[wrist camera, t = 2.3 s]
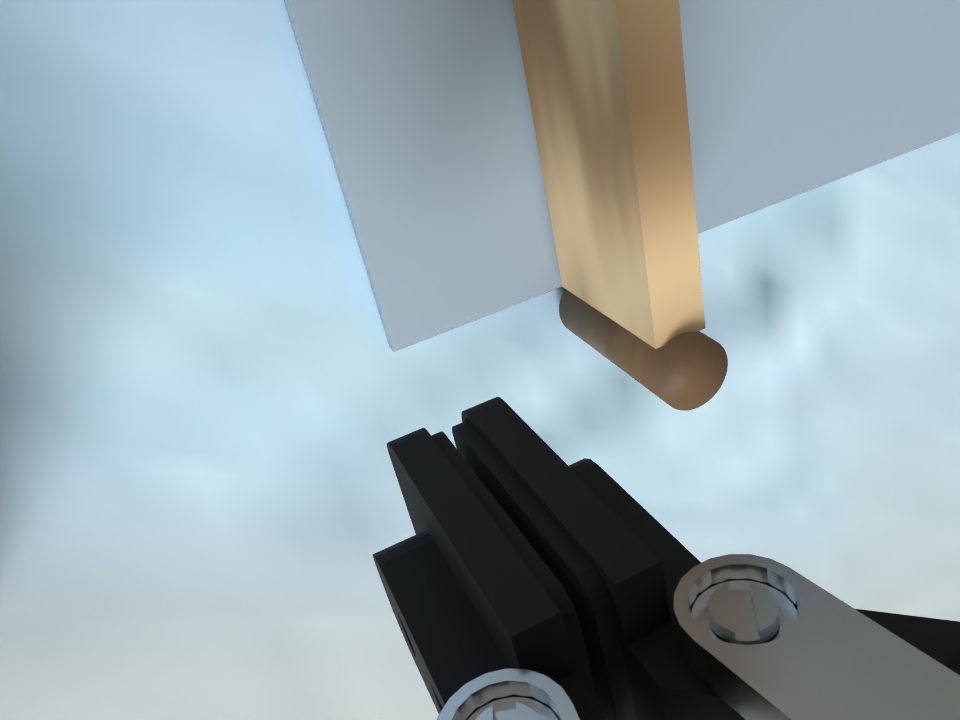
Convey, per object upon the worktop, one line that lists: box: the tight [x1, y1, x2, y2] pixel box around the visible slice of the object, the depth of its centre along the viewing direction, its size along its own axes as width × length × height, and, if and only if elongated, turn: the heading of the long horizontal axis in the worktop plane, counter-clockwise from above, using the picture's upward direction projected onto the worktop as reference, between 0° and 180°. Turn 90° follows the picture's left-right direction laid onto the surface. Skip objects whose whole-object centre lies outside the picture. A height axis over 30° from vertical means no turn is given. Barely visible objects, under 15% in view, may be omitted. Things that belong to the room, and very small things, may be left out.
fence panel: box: [512, 0, 728, 410], centre depth 16 cm, size 10×2×4 cm, turn 13°
